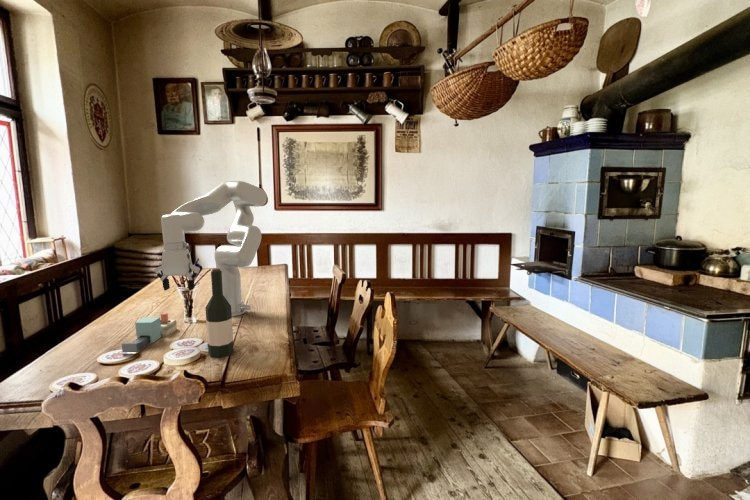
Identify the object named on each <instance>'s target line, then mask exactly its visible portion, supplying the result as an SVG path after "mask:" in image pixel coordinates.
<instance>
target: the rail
mask: <svg viewBox="0 0 750 500" xmlns="http://www.w3.org/2000/svg"><path fill="white" fill-rule="evenodd" d="M149 345H151V343H150V336H140V337H139V338H137V337H136V339H134V340H132V341H131V342H130V341H129V342H126V341H125V342H122V343H121V351H122V352H139V353H140V351H142V350H143V349H144V348H146V347H147V346H149Z"/></svg>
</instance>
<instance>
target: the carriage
mask: <svg viewBox="0 0 750 500" xmlns="http://www.w3.org/2000/svg"><path fill="white" fill-rule="evenodd" d="M160 320H161V316H160V317H159V316H158V317H156V316H155V317H153V316H152V317H151V316H150V317H149V316H147V317H146V316H145V317H143V318H141V319H139V320H137V321H136V322H135V323H134V326H135V335H136V339H137V338H139V337H140V336H150V344H152V343H153V344H154V343H155V342H156V341H157V340H159V339H160V338H161V337H162V336H161V332H160V330H161V323H160Z"/></svg>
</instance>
